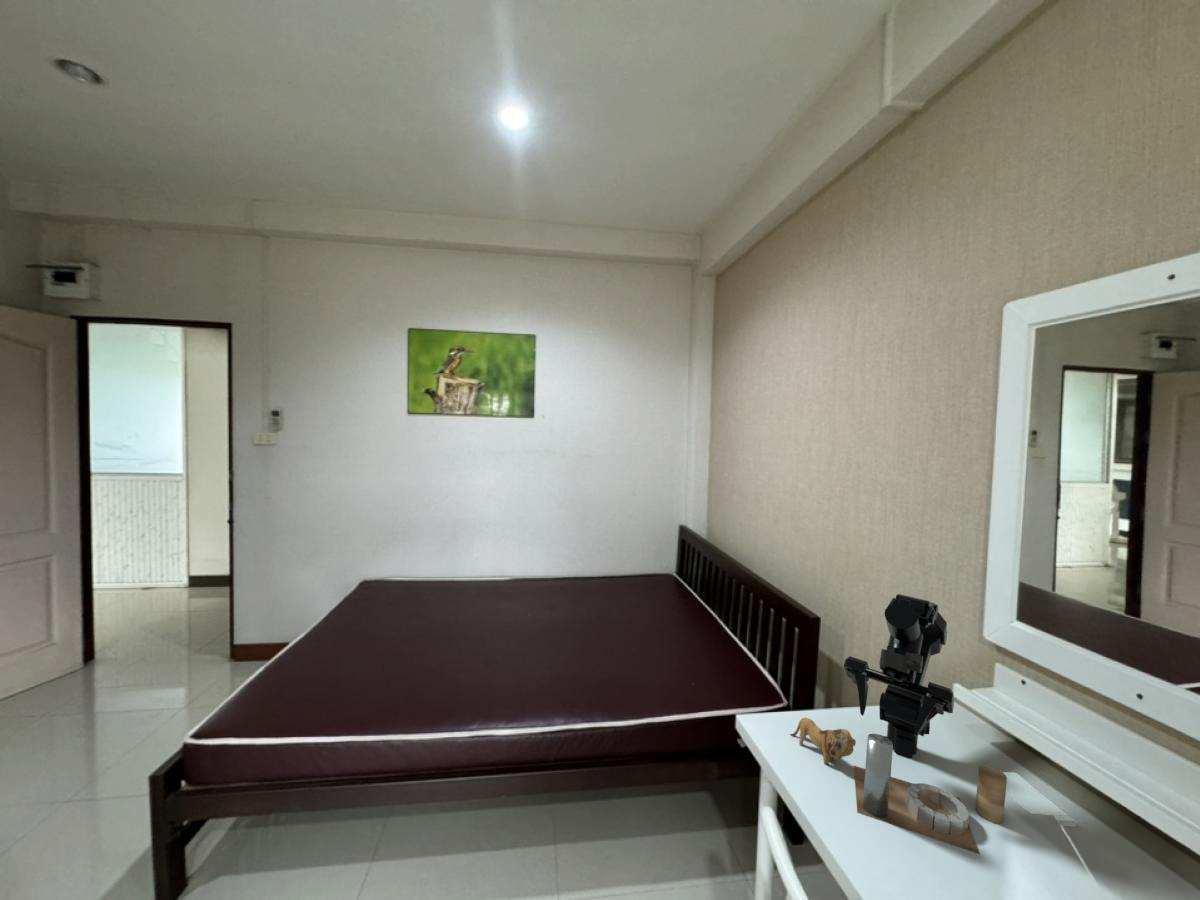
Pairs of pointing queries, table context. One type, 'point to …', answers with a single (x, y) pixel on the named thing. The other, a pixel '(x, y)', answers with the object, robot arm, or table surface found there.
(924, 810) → the grey stone ring
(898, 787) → the walnut board
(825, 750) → the lion figurine
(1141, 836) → the table surface
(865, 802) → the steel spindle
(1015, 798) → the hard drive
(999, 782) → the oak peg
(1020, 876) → the table surface
